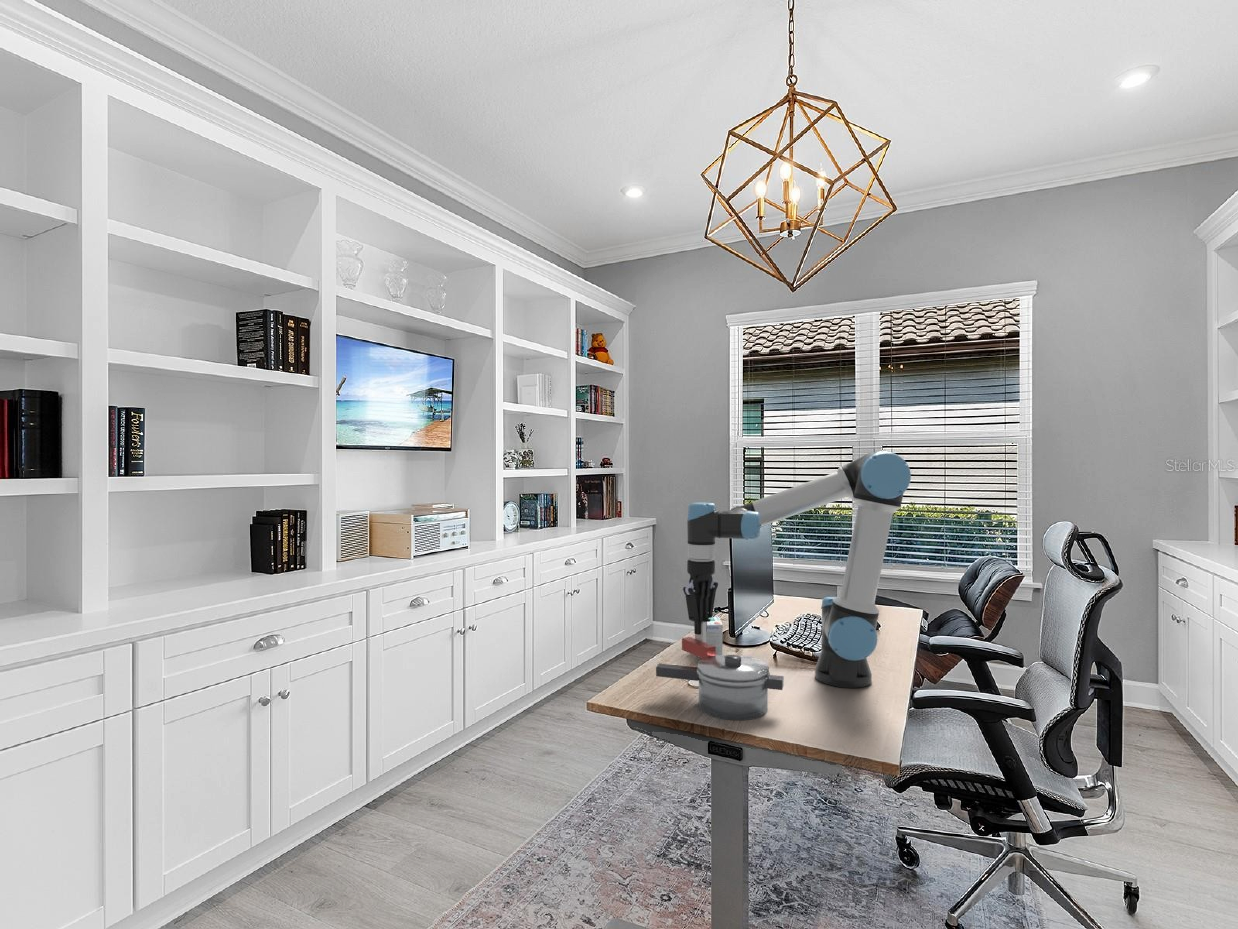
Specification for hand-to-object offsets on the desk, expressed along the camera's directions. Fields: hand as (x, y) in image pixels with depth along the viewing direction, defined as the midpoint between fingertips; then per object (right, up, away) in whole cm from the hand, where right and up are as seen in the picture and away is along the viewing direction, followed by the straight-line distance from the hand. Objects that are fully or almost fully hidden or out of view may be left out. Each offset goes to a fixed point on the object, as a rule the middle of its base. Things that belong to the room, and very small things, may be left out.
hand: (700, 645), depth 183 cm
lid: (+3, -2, -11) cm, 12 cm away
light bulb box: (+7, -11, +30) cm, 33 cm away
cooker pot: (+3, -11, -14) cm, 18 cm away
